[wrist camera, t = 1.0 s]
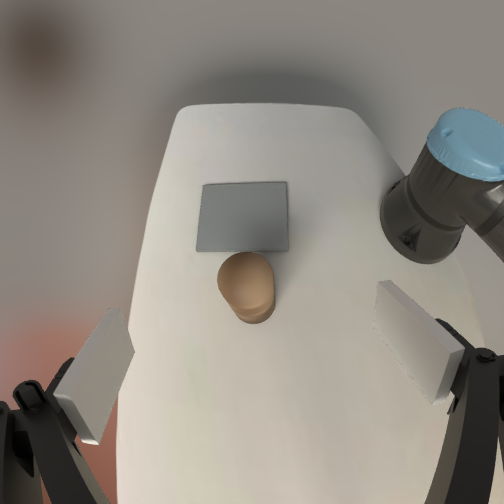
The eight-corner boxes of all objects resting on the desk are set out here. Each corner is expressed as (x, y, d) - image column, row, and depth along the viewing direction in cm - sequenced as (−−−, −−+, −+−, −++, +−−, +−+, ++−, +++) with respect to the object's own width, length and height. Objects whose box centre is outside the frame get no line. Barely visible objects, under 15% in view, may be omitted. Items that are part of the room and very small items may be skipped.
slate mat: (285, 184, 51) (285, 182, 50) (288, 250, 46) (288, 249, 46) (203, 187, 52) (203, 185, 52) (196, 251, 48) (195, 250, 47)
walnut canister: (274, 283, 45) (273, 251, 34) (274, 323, 42) (273, 305, 31) (233, 283, 45) (219, 252, 34) (232, 323, 43) (215, 305, 32)
